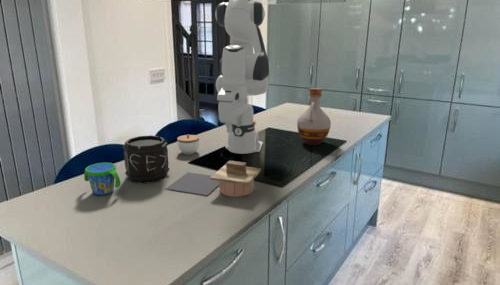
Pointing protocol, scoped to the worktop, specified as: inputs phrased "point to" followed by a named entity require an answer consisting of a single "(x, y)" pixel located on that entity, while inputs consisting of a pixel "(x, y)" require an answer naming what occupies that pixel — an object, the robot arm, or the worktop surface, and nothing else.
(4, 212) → the worktop surface
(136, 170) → the wooden barrel
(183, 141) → the lidded jar
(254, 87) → the robot arm
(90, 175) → the snack cup
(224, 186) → the bowl
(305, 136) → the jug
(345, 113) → the worktop surface
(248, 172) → the lid
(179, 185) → the mat
